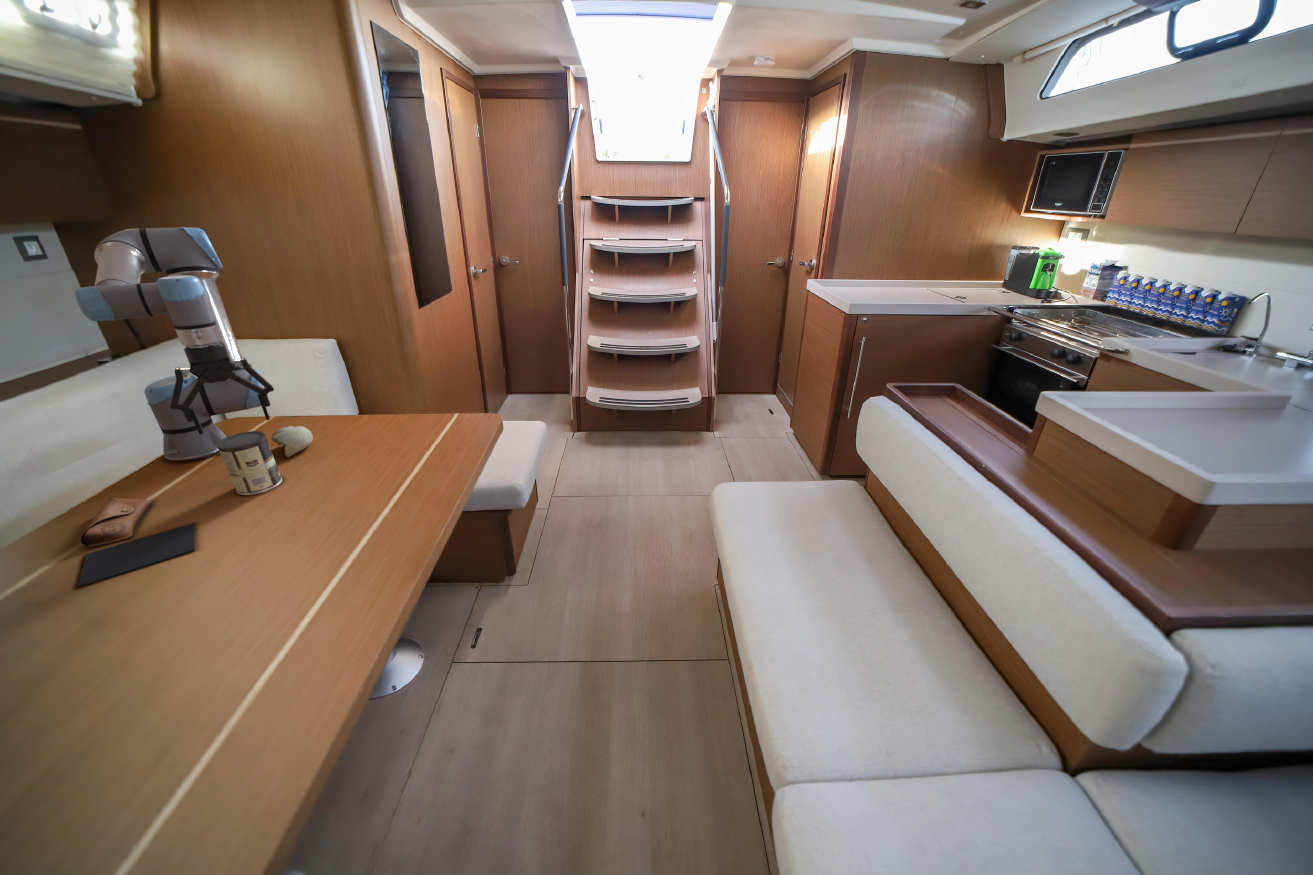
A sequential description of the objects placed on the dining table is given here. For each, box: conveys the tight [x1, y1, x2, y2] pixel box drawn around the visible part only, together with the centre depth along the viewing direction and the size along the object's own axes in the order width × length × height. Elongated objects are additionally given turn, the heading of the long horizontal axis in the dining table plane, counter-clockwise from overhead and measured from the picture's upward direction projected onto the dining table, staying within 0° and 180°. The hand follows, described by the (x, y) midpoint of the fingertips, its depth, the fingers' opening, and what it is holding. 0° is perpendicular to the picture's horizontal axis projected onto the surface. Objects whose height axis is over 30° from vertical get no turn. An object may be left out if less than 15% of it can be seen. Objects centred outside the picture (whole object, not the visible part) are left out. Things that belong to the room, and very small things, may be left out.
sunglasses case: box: [80, 496, 154, 548], centre depth 120 cm, size 18×7×7 cm
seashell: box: [271, 425, 314, 458], centre depth 154 cm, size 13×8×10 cm
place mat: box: [77, 522, 196, 588], centre depth 110 cm, size 13×18×1 cm
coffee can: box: [216, 430, 283, 496], centre depth 133 cm, size 10×10×14 cm
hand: (235, 425), depth 128 cm, fingers open, 13 cm apart
